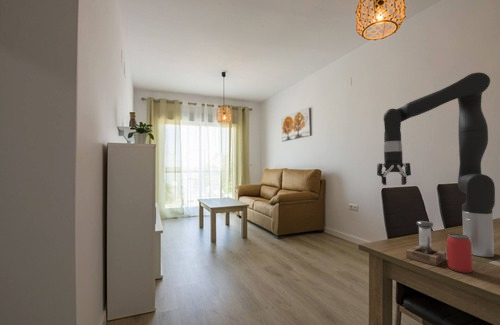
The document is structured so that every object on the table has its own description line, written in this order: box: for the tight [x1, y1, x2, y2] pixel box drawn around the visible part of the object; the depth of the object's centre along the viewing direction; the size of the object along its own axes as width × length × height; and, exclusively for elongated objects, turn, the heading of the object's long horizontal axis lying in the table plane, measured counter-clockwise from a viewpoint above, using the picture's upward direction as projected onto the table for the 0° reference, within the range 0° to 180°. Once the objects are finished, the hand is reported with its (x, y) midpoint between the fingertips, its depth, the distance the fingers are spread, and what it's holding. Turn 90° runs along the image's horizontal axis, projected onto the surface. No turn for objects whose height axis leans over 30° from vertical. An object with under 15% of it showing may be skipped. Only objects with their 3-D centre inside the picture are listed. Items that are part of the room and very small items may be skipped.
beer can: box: [446, 233, 473, 274], centre depth 85 cm, size 7×7×12 cm
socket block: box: [405, 245, 447, 267], centre depth 95 cm, size 10×10×3 cm
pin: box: [416, 220, 434, 255], centre depth 95 cm, size 5×5×14 cm
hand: (394, 184), depth 115 cm, fingers open, 8 cm apart
